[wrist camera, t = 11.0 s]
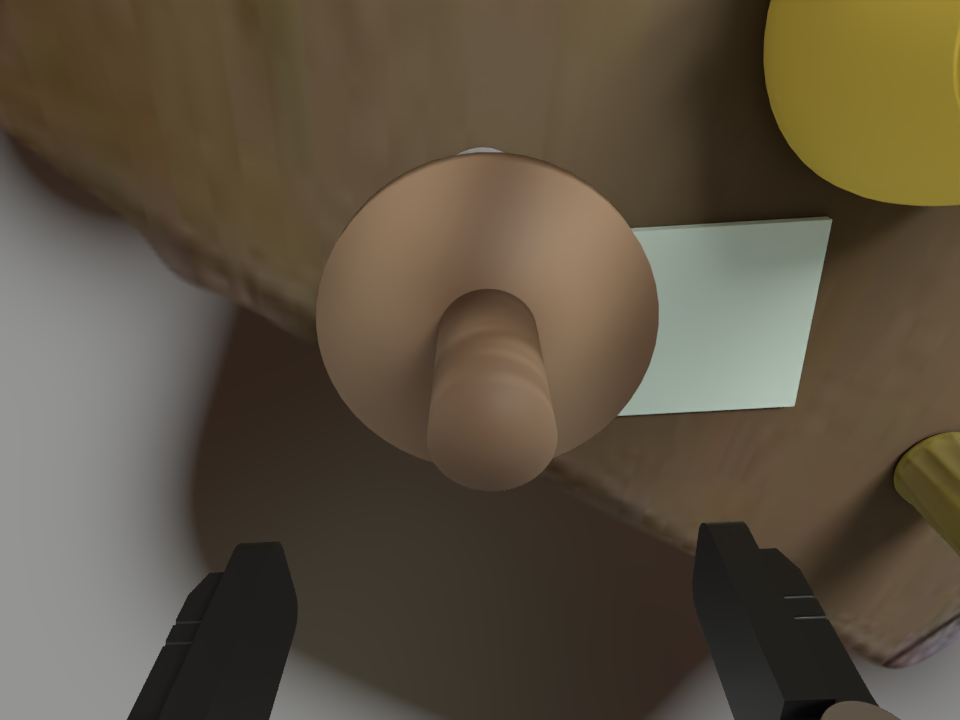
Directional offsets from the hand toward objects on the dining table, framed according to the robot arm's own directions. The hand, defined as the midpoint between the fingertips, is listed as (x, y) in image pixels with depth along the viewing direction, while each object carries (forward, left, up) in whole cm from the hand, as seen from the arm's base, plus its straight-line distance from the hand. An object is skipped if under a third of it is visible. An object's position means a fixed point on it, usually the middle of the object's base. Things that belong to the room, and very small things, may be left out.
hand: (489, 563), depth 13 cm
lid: (0, 0, -11) cm, 11 cm away
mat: (-13, +8, -26) cm, 30 cm away
